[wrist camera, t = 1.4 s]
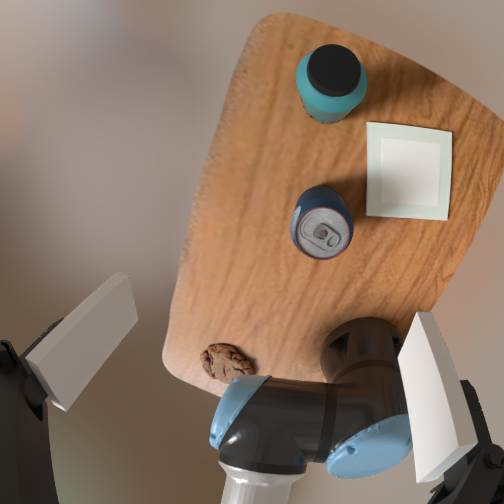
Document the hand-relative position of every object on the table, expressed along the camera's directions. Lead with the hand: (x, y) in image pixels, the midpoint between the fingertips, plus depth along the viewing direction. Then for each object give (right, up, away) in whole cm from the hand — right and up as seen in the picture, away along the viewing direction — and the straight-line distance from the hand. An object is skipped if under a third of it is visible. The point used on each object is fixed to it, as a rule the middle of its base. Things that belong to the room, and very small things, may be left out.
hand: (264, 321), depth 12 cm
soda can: (+9, +9, +28) cm, 31 cm away
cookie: (-5, -18, +42) cm, 46 cm away
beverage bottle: (+10, +23, +23) cm, 34 cm away
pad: (+22, +14, +23) cm, 35 cm away
